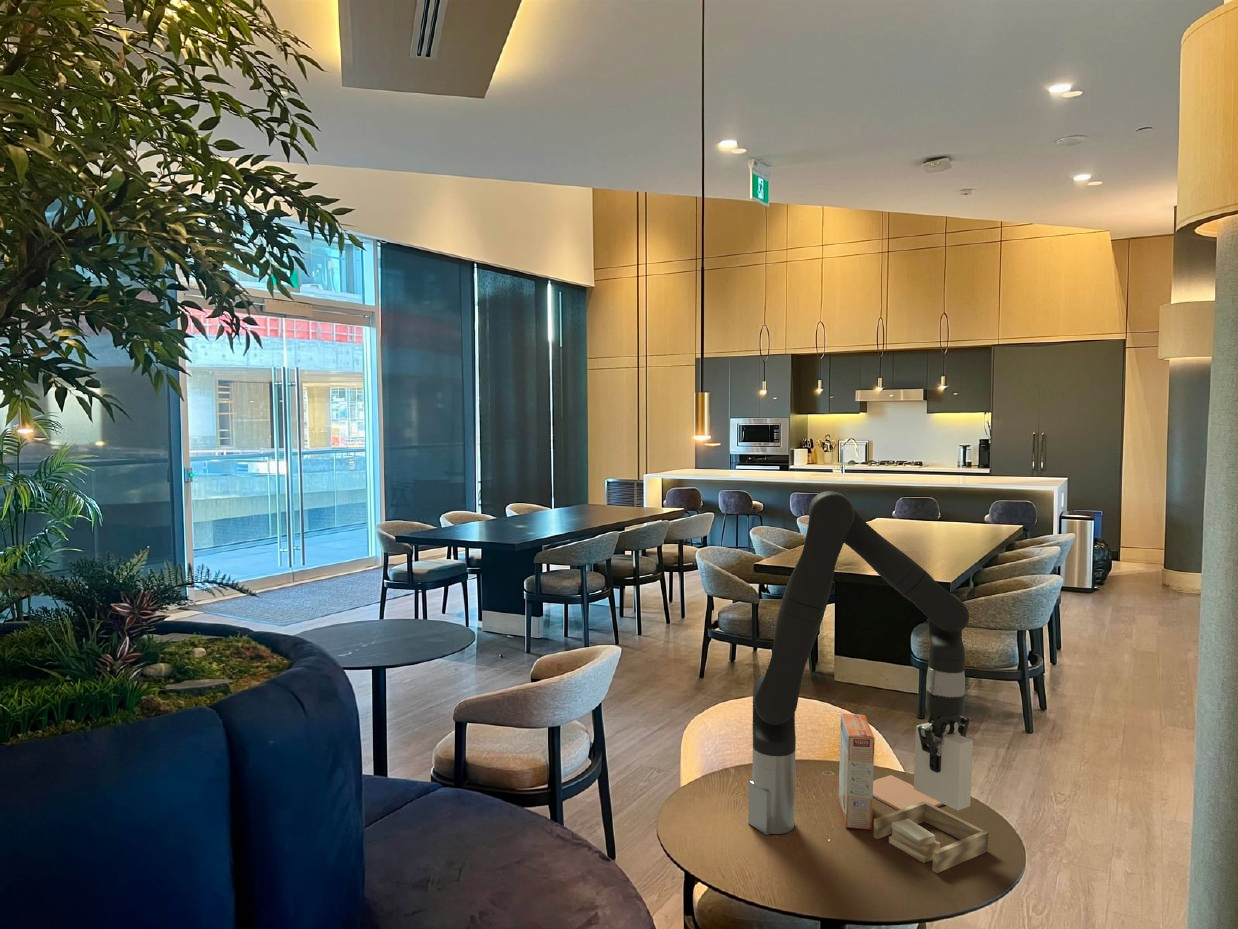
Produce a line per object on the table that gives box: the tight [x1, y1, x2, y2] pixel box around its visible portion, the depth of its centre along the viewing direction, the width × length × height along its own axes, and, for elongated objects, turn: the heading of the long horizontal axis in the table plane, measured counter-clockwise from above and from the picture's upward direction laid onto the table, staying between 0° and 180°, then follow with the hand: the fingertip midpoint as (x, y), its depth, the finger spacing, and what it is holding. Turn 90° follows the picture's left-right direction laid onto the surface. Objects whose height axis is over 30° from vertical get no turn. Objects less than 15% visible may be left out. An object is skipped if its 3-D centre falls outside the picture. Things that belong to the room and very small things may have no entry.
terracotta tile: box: [873, 774, 945, 811], centre depth 193 cm, size 12×16×1 cm
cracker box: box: [838, 713, 876, 831], centre depth 183 cm, size 14×6×21 cm, turn 171°
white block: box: [913, 722, 974, 811], centre depth 172 cm, size 4×11×14 cm, turn 30°
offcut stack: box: [888, 819, 942, 864], centre depth 169 cm, size 5×9×4 cm, turn 29°
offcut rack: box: [873, 801, 989, 874], centre depth 171 cm, size 16×16×4 cm
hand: (942, 768), depth 172 cm, fingers closed on white block, 4 cm apart
